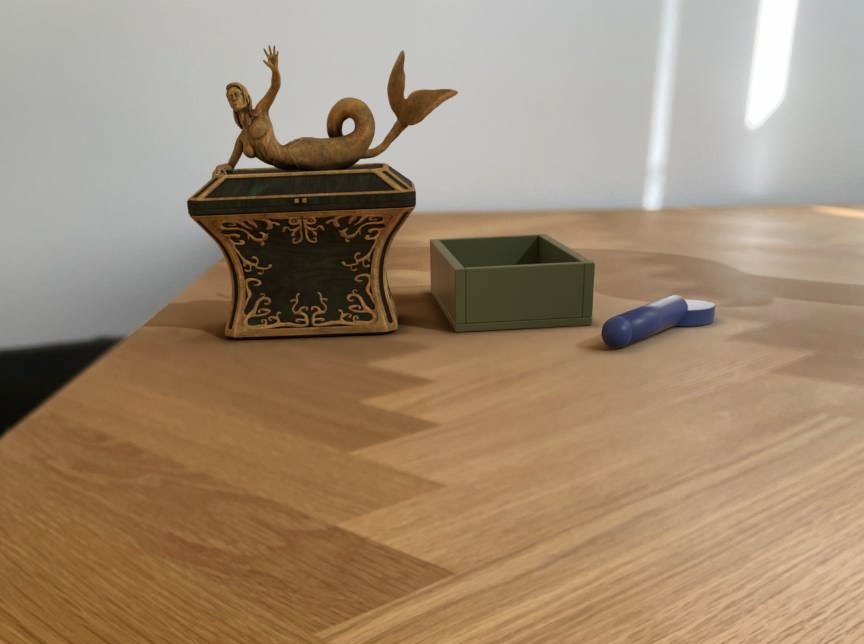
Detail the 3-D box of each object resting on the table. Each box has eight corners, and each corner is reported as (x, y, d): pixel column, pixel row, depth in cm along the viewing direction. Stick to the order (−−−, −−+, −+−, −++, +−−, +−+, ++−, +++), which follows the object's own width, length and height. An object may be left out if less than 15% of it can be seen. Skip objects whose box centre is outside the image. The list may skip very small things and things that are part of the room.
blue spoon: (667, 313, 84) (670, 284, 83) (723, 318, 81) (726, 288, 80) (579, 348, 74) (581, 316, 73) (639, 355, 71) (642, 321, 70)
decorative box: (200, 344, 80) (166, 48, 71) (219, 319, 88) (190, 53, 79) (462, 334, 79) (461, 35, 70) (455, 310, 88) (453, 41, 79)
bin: (544, 286, 97) (545, 233, 95) (591, 325, 81) (595, 262, 79) (430, 292, 97) (429, 239, 95) (455, 332, 80) (455, 269, 78)
